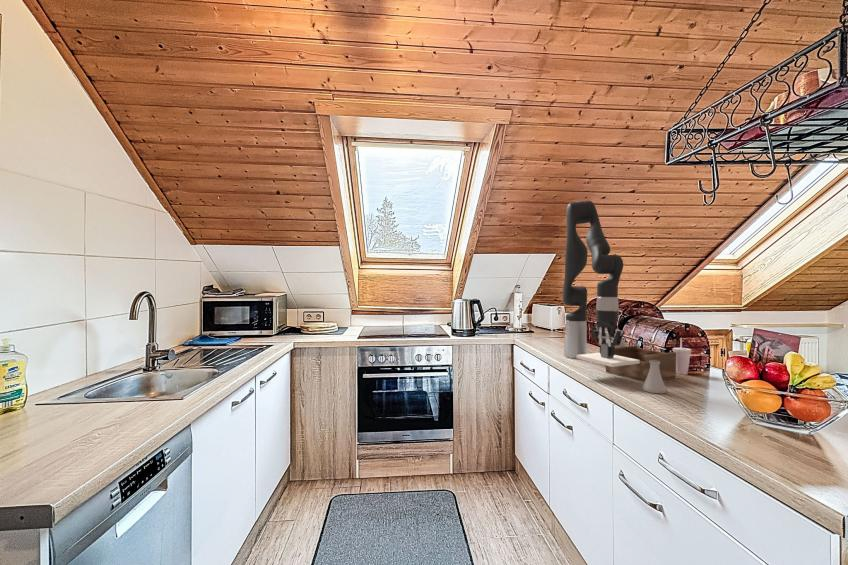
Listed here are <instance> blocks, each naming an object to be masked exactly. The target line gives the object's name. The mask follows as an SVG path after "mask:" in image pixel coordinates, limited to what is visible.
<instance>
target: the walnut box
mask: <svg viewBox="0 0 848 565" xmlns="http://www.w3.org/2000/svg"><path fill="white" fill-rule="evenodd" d="M614 355H618V356H623V357H627V358H632V359H637V360H640V363H639V364H631V365H623V366H615V367H611V366H607V365H605V372H606V373H608V374H611V375H615V376H620V377H622V378H626V379H631V380H635V381H638V382H642V383H645V381H646V378H647V376H648V373H649V369H650V362H649V361H651V360H654V361H660V364H659V369H660V374H661V377H662V380H663V381H666V380H672V378H673V379H676V378H677V373H676V353H675V352H674V351H673V352H672V351H671V352H663V351H656V350H651V349H646V348H640V347H638V345H625V347H615V354H614ZM665 379H666V380H665Z"/></svg>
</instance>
